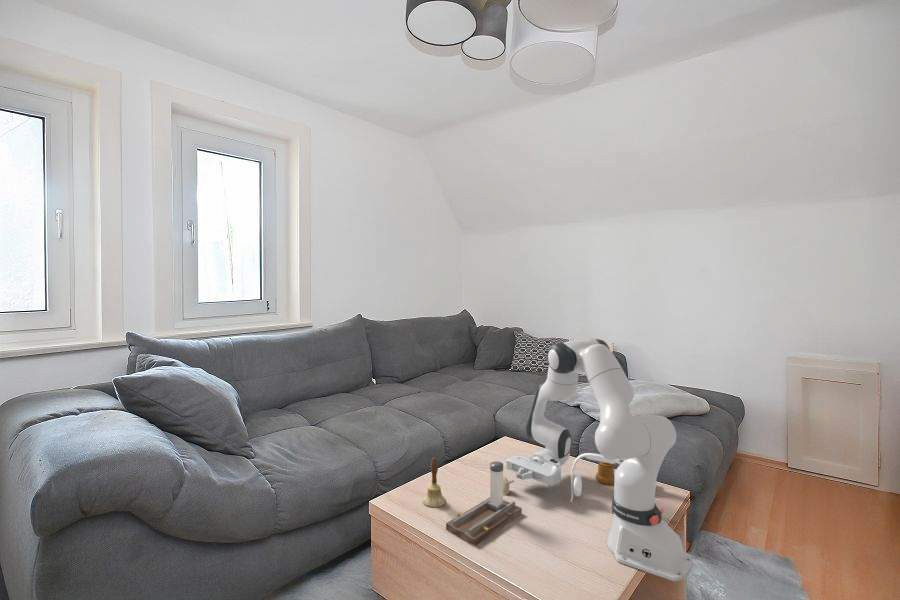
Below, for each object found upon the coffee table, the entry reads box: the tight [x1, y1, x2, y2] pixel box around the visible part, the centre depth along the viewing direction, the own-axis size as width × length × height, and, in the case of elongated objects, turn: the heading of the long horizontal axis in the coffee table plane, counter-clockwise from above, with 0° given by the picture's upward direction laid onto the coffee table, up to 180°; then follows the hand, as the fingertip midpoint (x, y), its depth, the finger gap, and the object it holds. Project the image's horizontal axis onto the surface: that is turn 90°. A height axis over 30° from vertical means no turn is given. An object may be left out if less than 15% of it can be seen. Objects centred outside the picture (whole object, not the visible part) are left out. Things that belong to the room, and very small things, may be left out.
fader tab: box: [487, 460, 506, 511], centre depth 146 cm, size 5×4×15 cm
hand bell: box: [421, 457, 447, 508], centre depth 154 cm, size 8×8×16 cm
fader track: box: [445, 497, 523, 547], centre depth 142 cm, size 12×24×4 cm, turn 136°
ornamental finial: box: [595, 461, 615, 486], centre depth 169 cm, size 8×8×8 cm
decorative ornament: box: [503, 476, 515, 496], centre depth 162 cm, size 4×8×5 cm, turn 44°
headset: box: [570, 452, 623, 504], centre depth 152 cm, size 20×7×18 cm, turn 64°
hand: (519, 476), depth 156 cm, fingers closed
